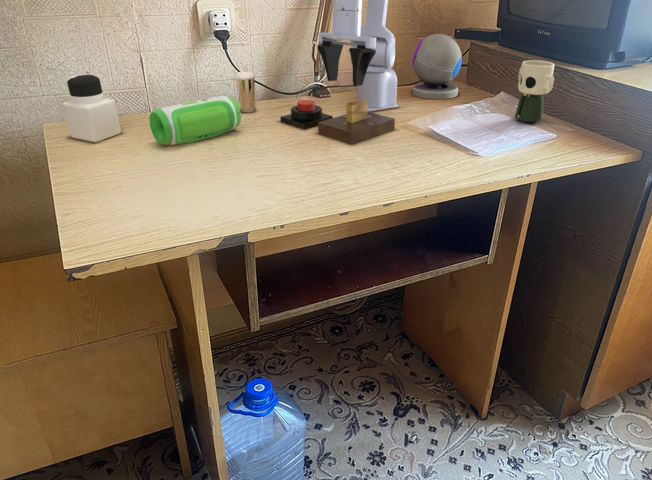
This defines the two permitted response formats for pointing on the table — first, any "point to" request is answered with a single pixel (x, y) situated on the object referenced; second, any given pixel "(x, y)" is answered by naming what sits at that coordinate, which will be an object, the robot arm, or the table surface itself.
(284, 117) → the black button base
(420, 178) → the table surface
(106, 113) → the medicine bottle
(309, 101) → the release button
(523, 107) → the character mug
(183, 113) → the speaker
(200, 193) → the table surface
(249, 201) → the table surface
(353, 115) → the tan red block
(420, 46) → the webcam
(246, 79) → the milkshake
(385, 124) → the lock plate
